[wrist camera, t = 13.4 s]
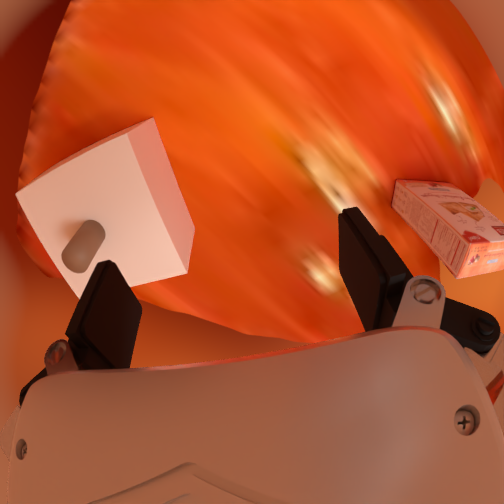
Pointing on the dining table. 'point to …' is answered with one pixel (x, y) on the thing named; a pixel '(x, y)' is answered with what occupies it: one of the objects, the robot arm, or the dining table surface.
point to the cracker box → (452, 226)
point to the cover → (113, 210)
